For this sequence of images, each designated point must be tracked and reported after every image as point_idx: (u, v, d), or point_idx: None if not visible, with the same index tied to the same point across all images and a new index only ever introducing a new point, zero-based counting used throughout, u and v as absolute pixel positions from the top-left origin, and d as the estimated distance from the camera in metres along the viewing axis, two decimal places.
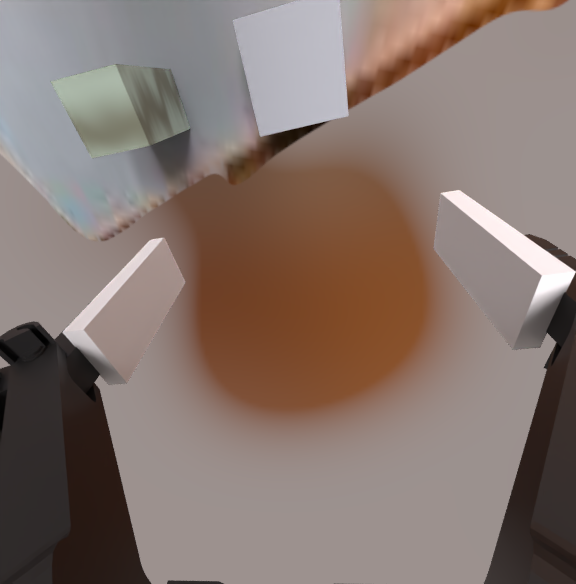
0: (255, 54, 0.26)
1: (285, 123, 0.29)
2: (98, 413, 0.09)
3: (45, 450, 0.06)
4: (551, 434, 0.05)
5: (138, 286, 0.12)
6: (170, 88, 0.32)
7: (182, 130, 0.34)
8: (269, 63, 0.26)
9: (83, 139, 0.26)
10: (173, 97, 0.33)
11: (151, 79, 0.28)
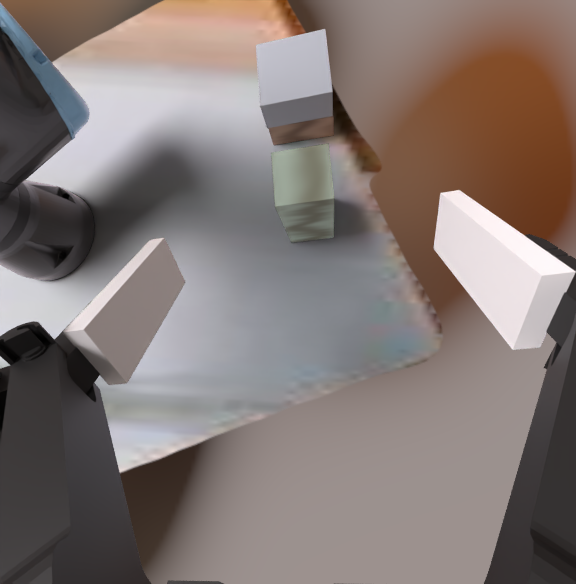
0: (279, 92, 0.36)
1: (324, 72, 0.35)
2: (98, 413, 0.09)
3: (45, 450, 0.06)
4: (551, 434, 0.05)
5: (138, 286, 0.12)
6: None
7: None
8: (285, 83, 0.36)
9: (317, 198, 0.29)
10: None
11: None
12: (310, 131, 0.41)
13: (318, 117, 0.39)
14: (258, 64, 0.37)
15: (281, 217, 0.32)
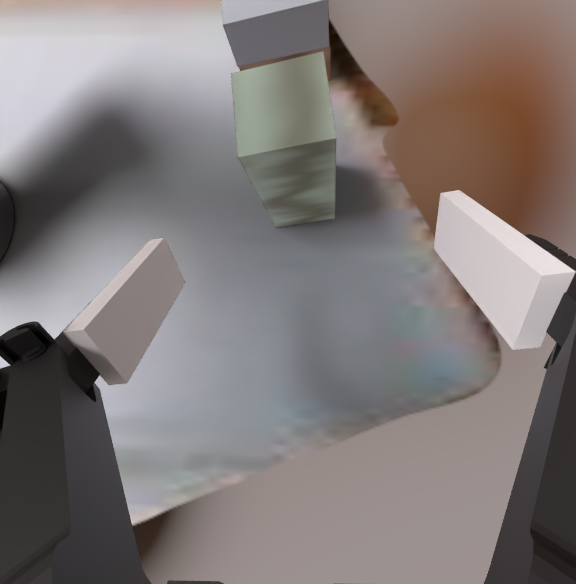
0: (250, 4, 0.25)
1: None
2: (98, 413, 0.09)
3: (45, 450, 0.06)
4: (551, 434, 0.05)
5: (138, 286, 0.12)
6: None
7: None
8: None
9: (308, 140, 0.17)
10: None
11: None
12: None
13: (309, 50, 0.28)
14: None
15: (253, 181, 0.21)
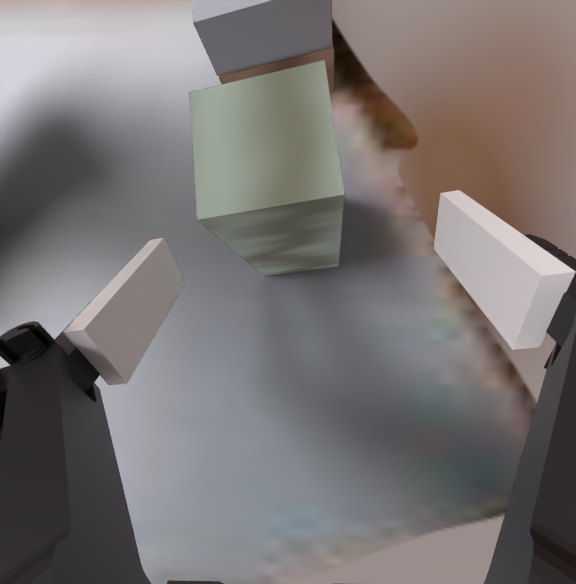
0: None
1: None
2: (98, 413, 0.09)
3: (45, 450, 0.06)
4: (551, 434, 0.05)
5: (138, 286, 0.12)
6: None
7: None
8: None
9: (302, 196, 0.11)
10: None
11: None
12: None
13: (307, 51, 0.22)
14: None
15: (226, 241, 0.15)
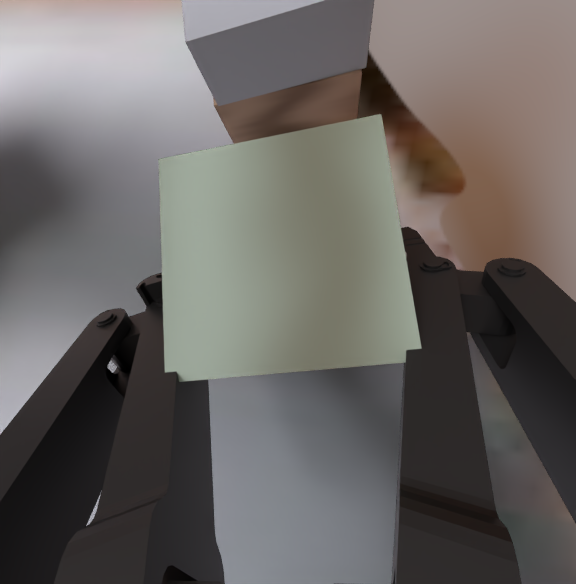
0: (233, 4, 0.14)
1: None
2: None
3: (160, 398, 0.06)
4: (404, 396, 0.05)
5: None
6: None
7: None
8: None
9: (346, 359, 0.06)
10: None
11: None
12: (309, 111, 0.19)
13: (334, 73, 0.17)
14: None
15: None
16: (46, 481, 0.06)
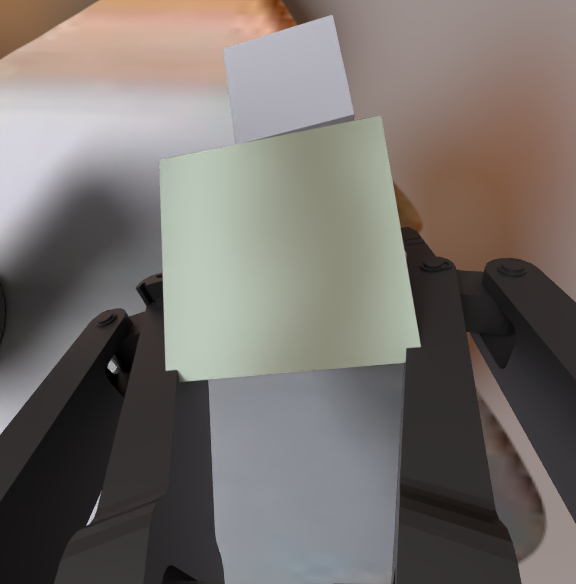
0: (265, 121, 0.22)
1: (338, 83, 0.21)
2: None
3: (159, 398, 0.06)
4: (404, 396, 0.05)
5: None
6: None
7: None
8: (274, 106, 0.22)
9: (347, 359, 0.06)
10: None
11: None
12: None
13: None
14: (229, 78, 0.23)
15: None
16: (46, 481, 0.06)
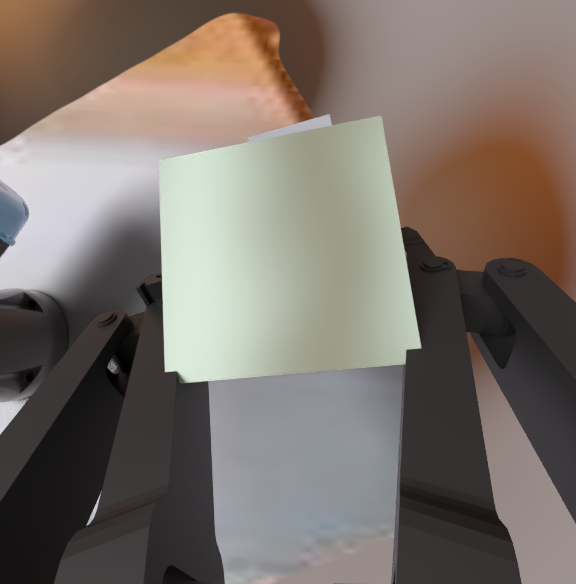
0: None
1: None
2: None
3: (160, 398, 0.06)
4: (404, 396, 0.05)
5: None
6: None
7: None
8: None
9: (347, 360, 0.06)
10: None
11: None
12: None
13: None
14: None
15: None
16: (46, 481, 0.06)
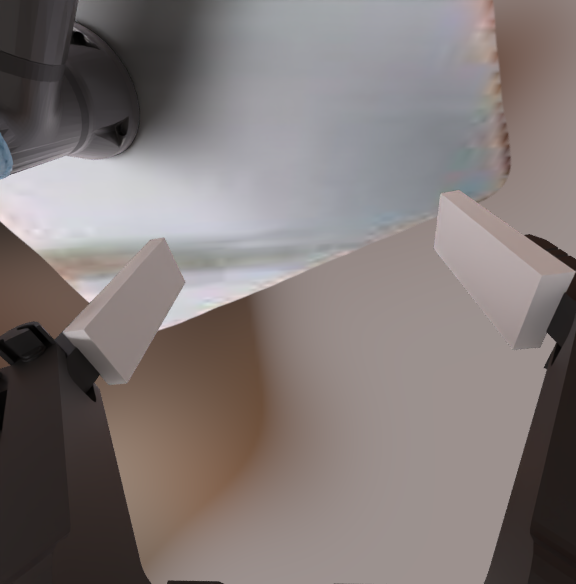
0: None
1: None
2: (98, 413, 0.09)
3: (45, 450, 0.06)
4: (551, 434, 0.05)
5: (138, 286, 0.12)
6: None
7: None
8: None
9: None
10: None
11: None
12: None
13: None
14: None
15: None
16: None
